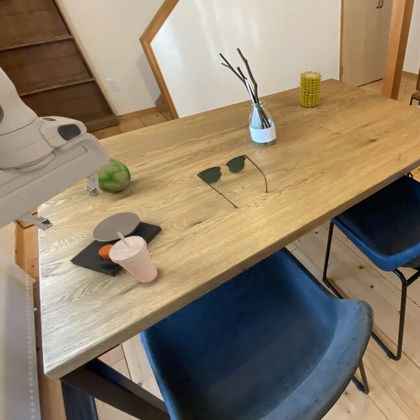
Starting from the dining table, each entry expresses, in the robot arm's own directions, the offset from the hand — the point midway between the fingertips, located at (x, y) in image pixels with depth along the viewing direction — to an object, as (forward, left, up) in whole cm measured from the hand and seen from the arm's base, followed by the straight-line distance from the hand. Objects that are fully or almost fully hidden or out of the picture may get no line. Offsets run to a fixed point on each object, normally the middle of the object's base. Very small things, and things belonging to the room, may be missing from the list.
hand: (73, 209), depth 51 cm
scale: (+5, +5, -18) cm, 19 cm away
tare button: (+1, +2, -15) cm, 15 cm away
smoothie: (0, -8, -18) cm, 19 cm away
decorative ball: (+23, +24, -18) cm, 38 cm away
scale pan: (+8, +7, -15) cm, 18 cm away
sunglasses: (+34, -11, -18) cm, 40 cm away
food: (+102, -11, -18) cm, 104 cm away
